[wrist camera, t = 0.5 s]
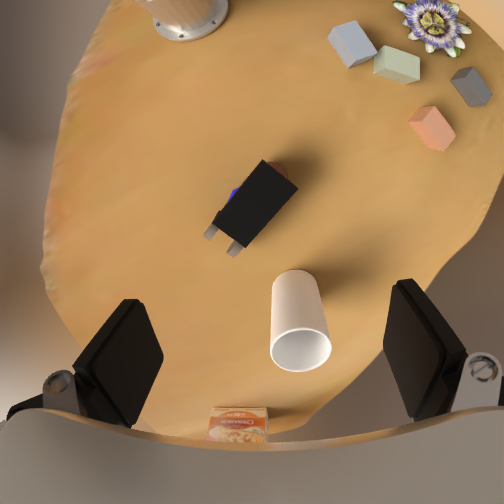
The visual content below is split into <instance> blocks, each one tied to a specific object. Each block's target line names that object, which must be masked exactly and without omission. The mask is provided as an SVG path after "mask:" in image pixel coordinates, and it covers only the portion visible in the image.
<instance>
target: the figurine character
mask: <svg viewBox="0 0 504 504" xmlns="http://www.w3.org/2000/svg"><path fill="white" fill-rule="evenodd" d="M297 190H298V188H297V187H296V186H295V185H294V184H292V183H291V182H290V181H289V180H288V176H287V173H286V171H285V170H284V169H283V168H282V167H281V166H280V165H278V164H276V163H271V162H269V163H266V162H265V161H264V160H263V159H262V161H261V162H260V163H259V164H258V165H257V167H256V168H255V169H254V170H253V171H252V173H251V174H250V175H249V176H248V178H247V179H246V180H245V181H244V182H243V184H242V185H241V186H240V187H239V188H237V189H235V190H233V191H232V193H231V196H230V198H229V200H228V202H227V204H226V205H225V206H224V208H223V209H222V210H221V211H220V210H219V212H218V213H217V215H216V216H215V218H214V220H213V222H212V223H211V225H210V226H209V227H208V229H207V230H206V232H205V233H204V235H203V236H204V237H205V238H206V239H208V240H210V239H211V238H212V237H213V236H214V235H215V233H216V232H217V231H218V229H220V230H222V231H223V232H224V233H226V234H227V235H228V236H230V237H231V238H232V239H234V241H233V243H232V244H231V245H230V247H229V249H228V251H227V253H228V254H229V255H230V256H232V257H233V258H234V257H235V256H236V255H237V254H238V253H239V252H240V251H241V250H242V248H243V247H245V248H246V247H247V246H248V245H249V244H250V242H251V241H252V240H253V239H254V238H255V237H256V236H257V235H258V233H259V232H260V231H261V230H262V229H263V228H264V227H265V226H266V224H267V223H268V222H269V221H270V220H271V219H272V218H273V217H274V215H275V214H276V213H277V212H278V211H279V210H280V209H281V208H282V206H283V205H284V204H285V203H286V202H287V201H288V200H289V199H290V198H291V196H292V195H293V194H294V193H295V192H296V191H297Z"/></svg>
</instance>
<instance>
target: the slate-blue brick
mask: <svg viewBox="0 0 504 504" xmlns="http://www.w3.org/2000/svg"><path fill="white" fill-rule="evenodd" d="M327 39H328V40H329V41H330V43H331V44H332V46H333V47H334V49H335V50H336V51H337V53H338V54H339V56H340V57H341V59H342V60H343V62H344V64H345V65H346V67H347V68H350V67H352V66H355V65H358V64H360V63H363V62H366V61H368V60H369V59H371V58H372V57H373V56H375V55H376V54H377V53H378V52H377V51H376V49H375V47H374V46H373V44H372V43H371V41H370V40H369V39H368V37H367V36H366V34H365V33H364V31H363V30H362V29H361V27H360V26H359V24H358V23H357V22H356V20H355V21H352V22H349V23H346V24H342V25H339V26H336V27H333V29H332V31H331V32H330V34H329V36H328V38H327Z"/></svg>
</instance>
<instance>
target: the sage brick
mask: <svg viewBox="0 0 504 504" xmlns="http://www.w3.org/2000/svg"><path fill="white" fill-rule="evenodd" d="M377 52H378V53H377V54H376V55H375V56H374V75H378V76H381V77H385V78H388V79H391V80H394V81H398V82H401V83H404V84H408V83H412V82H415V81H418V80H420V58H419V57H417V56H414V55H412V54H409V53H406V52H403V51H401V50H398V49H395V48H392V47H389V46H383V47H382V48H381V49H379V50H378V51H377Z"/></svg>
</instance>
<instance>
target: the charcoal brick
mask: <svg viewBox="0 0 504 504" xmlns="http://www.w3.org/2000/svg"><path fill="white" fill-rule="evenodd" d="M450 81H451V83H452V84H453V85H454V87H455V88H456V89H457V91H458V92H459V93H460V95H461V96H462V98H463V99H464V100H465V102H466V103H467V105H468V106H485V105H486V103H487V102H488V100H489V99H490V97H491V96H492V93H491V91H490V90H489V88H488V87H487V85H486V84H485V82H484V81H483V79H482V78H481V76H480V75H479V73H478V72H477V70H476V69H475V68H474V67H469V68H465V69H461V70H458V71H457V73H456V74H455V75H454V76H453V78H452V79H451V80H450Z"/></svg>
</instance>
